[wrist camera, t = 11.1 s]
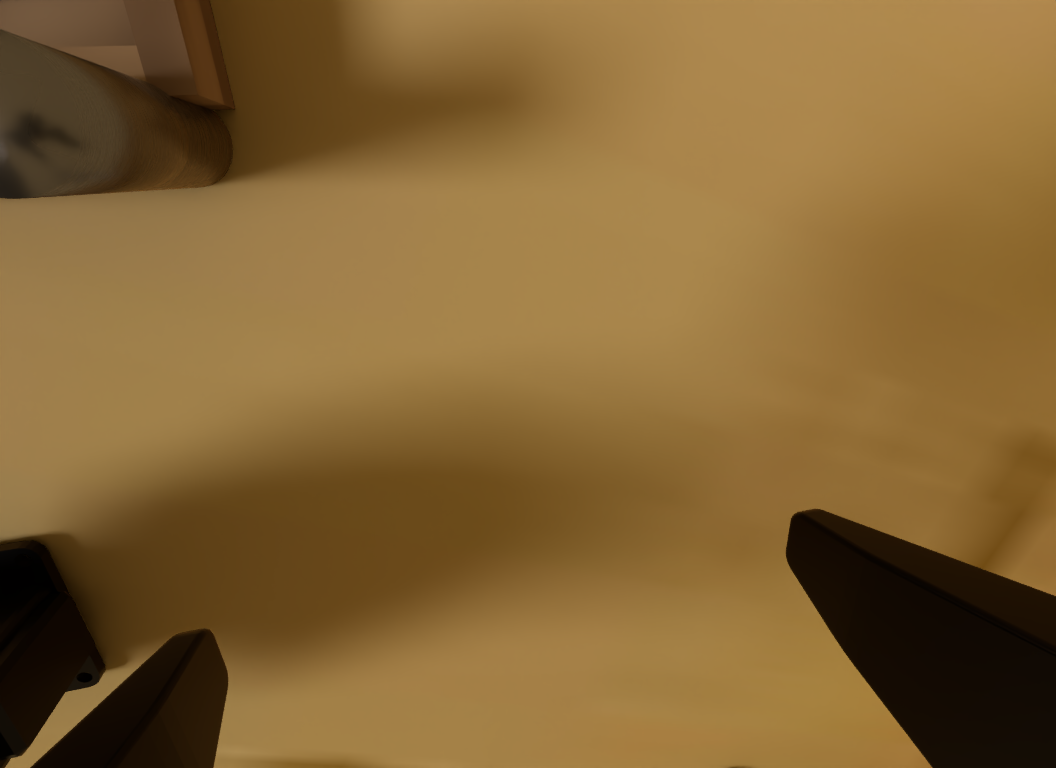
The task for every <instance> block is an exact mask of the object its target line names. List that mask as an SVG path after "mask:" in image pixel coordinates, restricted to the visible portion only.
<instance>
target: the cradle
mask: <svg viewBox="0 0 1056 768" xmlns="http://www.w3.org/2000/svg"><path fill="white" fill-rule="evenodd" d="M225 109H235V106H234V102H233V98H232V94H231V89H230V85H229V81H228V77H227V72H226V68H225V64H224V60H223V56H222V51H221V47H220V43H219V39H218V35H217V30H216V26H215V22H214V18H213V13H212V9H211V5H210V1H209V0H0V198H7V199H20V198H36V197H52V196H69V195H85V194H101V193H117V192H133V191H149V190H165V189H181V188H198V187H205V186H209V185H211V184H214V183H215V182H217V181H219V180H220V179H221V178H222V177H223V176H224V175H225V174H226V172H227V171H228V169H229V167H230V165H231V161H232V155H233V147H232V141H231V138H230V134H229V132H228V130H227V128H226V126H225V124H224V123H223V121H222V120H221V119H220V117H219V116H218V115H217V114H216V113H215V112H214V111H213V110H225Z"/></svg>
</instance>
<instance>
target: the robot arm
mask: <svg viewBox="0 0 1056 768" xmlns="http://www.w3.org/2000/svg"><path fill="white" fill-rule="evenodd" d="M23 554H26V555H28V556H30V557H31V558H32V559H29V558H27V557H25V556H24V555H23ZM786 558H787V562H788V564H789V566H790V568H791V570H792V572H793V573H794V575H795V576H796V578H797V579H798V581H799V583H800V584H801V586H802V587H803V589H804V590H805V592H806V594H807V595H808V597H809V598H810V600H811V601H812V603H813V605H814V606H815V608H816V609H817V611H818V612H819V614H820V616H821V617H822V619H823V620H824V622H825V623H826V625H827V627H828V628H829V630H830V631H831V633H832V634H833V636H834V638H835V639H836V641H837V642H838V643H839V645H840V646H841V648H842V649H843V651H844V652H845V654H846V655H847V656H848V658H849V659H850V660H851V662H852V663H853V665H854V666H855V667H856V669H857V670H858V671H859V672H860V674H861V675H862V676H863V678H864V679H865V680H866V682H867V683H868V684H869V685H870V687H871V688H872V689H873V691H874V692H875V693H876V695H877V696H878V697H879V698H880V700H881V701H882V702H883V704H884V705H885V706H886V708H887V709H888V710H889V712H890V713H891V714H892V715H893V717H894V718H895V719H896V721H897V722H898V723H899V725H900V726H901V727H902V728H903V730H904V731H905V732H906V734H907V735H908V736H909V738H910V739H911V740H912V742H913V743H914V744H915V745H916V747H917V748H918V749H919V751H920V752H921V753H922V755H923V756H924V757H925V758H926V760H927V761H928V762H929V764H930V765H931V766H932V768H1056V596H1054V595H1051V594H1048V593H1046V592H1043V591H1040V590H1038V589H1035V588H1032V587H1029V586H1027V585H1024V584H1021V583H1019V582H1016V581H1013V580H1010V579H1008V578H1005V577H1002V576H1000V575H997V574H994V573H991V572H989V571H986V570H983V569H981V568H978V567H975V566H973V565H970V564H967V563H964V562H962V561H959V560H956V559H954V558H951V557H948V556H945V555H943V554H940V553H937V552H935V551H932V550H929V549H927V548H924V547H921V546H918V545H916V544H913V543H910V542H908V541H905V540H902V539H899V538H897V537H894V536H891V535H889V534H886V533H883V532H880V531H878V530H875V529H872V528H870V527H867V526H864V525H862V524H859V523H856V522H853V521H851V520H848V519H845V518H843V517H840V516H837V515H834V514H832V513H829V512H826V511H824V510H821V509H811V510H806V511H801V512H797V513H795V514H794V515H793V516H792V518H791V522H790V528H789V534H788V541H787V547H786ZM86 672H87V673H86ZM104 672H105V665H104V663H103V661H102V659H101V657H100V655H99V653H98V651H97V649H96V647H95V643H94V641H93V639H92V637H91V635H90V633H89V631H88V629H87V627H86V625H85V623H84V621H83V619H82V617H81V615H80V613H79V611H78V609H77V607H76V605H75V603H74V601H73V599H72V597H71V596H70V594H69V592H68V590H67V588H66V586H65V584H64V582H63V580H62V578H61V576H60V574H59V572H58V570H57V568H56V566H55V564H54V562H53V560H52V558H51V556H50V554H49V552H48V550H47V548H46V547H45V546H44V545H42V544H41V543H39V542H35V541H21V542H15V543H9V544H3V545H0V768H5V767H6V765H7V764H8V762H9V761H10V759H11V758H14V757H18V756H21V755H23V754H24V753H25V751H26V750H27V749H28V748H29V746H30V745H31V744H32V742H33V741H34V739H35V738H36V736H37V735H38V733H39V731H40V730H41V728H42V727H43V725H44V724H45V722H46V721H47V719H48V718H49V716H50V715H51V713H52V712H53V710H54V709H55V707H56V705H57V704H58V702H59V701H60V699H61V698H62V696H63V695H64V693H65V692H67V691H72V690H77V689H82V688H87V687H91V686H93V685H95V684H97V683H98V682H99V680H100V679H101V677H102V675H103V674H104ZM227 690H228V672H227V668H226V665H225V663H224V660H223V658H222V655H221V652H220V650H219V647H218V644H217V642H216V639H215V636H214V635H213V633H212V632H211V631H210V630H209V629H198V630H193V631H188V632H183V633H179V634H176V635H175V636H173V637H172V638H171V639H169V640H168V641H167V642H166V643H165V644H164V645H163V646H162V647H161V648H160V649H158V650H157V651H156V652H155V653H154V654H153V655H152V656H151V657H150V658H149V659H148V660H146V661H145V662H144V663H143V664H142V665H141V666H140V667H139V668H138V669H137V670H136V671H135V672H133V673H132V674H131V675H130V676H129V677H128V678H127V679H126V680H125V681H124V682H123V683H122V684H120V685H119V686H118V687H117V688H116V689H115V690H114V691H113V692H112V693H111V694H110V695H109V696H107V697H106V698H105V699H104V700H103V701H102V702H101V703H100V704H99V705H98V706H97V707H96V708H94V709H93V710H92V711H91V712H90V713H89V714H88V715H87V716H86V717H85V718H84V719H83V720H81V721H80V722H79V723H78V724H77V725H76V726H75V727H74V728H73V729H72V730H71V731H69V732H68V733H67V734H66V735H65V736H64V737H63V738H62V739H61V740H60V741H59V742H58V743H56V744H55V745H54V746H53V747H52V748H51V749H50V750H49V751H48V752H47V753H46V754H45V755H43V756H42V757H41V758H40V759H39V760H38V761H37V762H36V763H35V764H34V765H33V766H32V767H30V768H213V767H214V762H215V756H216V751H217V745H218V740H219V734H220V728H221V723H222V717H223V712H224V706H225V701H226V695H227Z"/></svg>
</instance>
